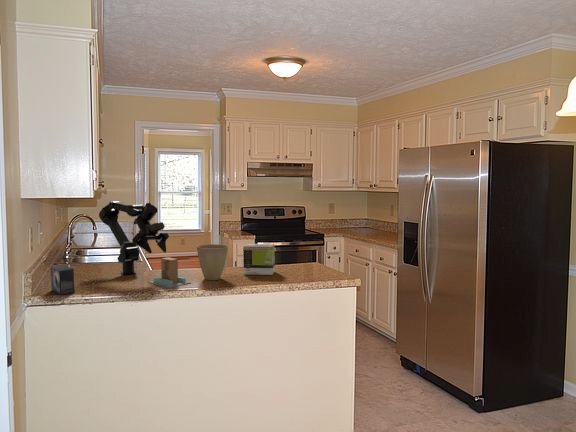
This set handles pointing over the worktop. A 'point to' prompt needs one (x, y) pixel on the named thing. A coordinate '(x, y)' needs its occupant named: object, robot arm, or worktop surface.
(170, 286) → the rack
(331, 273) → the worktop surface
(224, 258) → the plant pot
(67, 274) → the small box
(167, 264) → the brown upright block
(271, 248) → the tea box
